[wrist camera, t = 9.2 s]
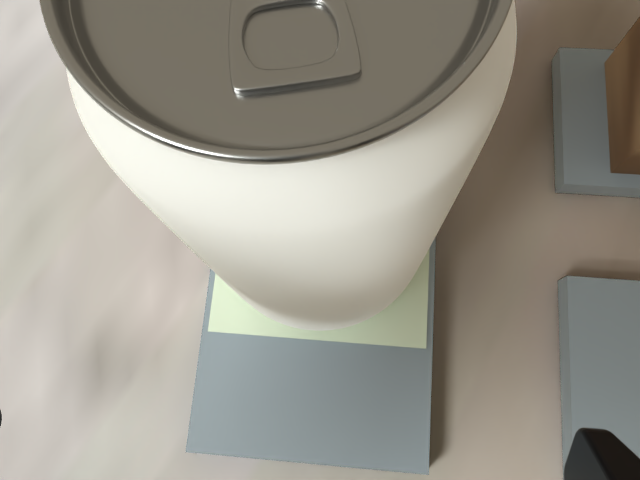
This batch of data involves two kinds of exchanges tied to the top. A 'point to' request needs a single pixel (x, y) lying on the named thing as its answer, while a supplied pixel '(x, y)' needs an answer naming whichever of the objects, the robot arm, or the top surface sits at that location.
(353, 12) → the can
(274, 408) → the plate
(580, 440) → the robot arm
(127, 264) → the top surface
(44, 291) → the top surface
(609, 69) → the walnut cube
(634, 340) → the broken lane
